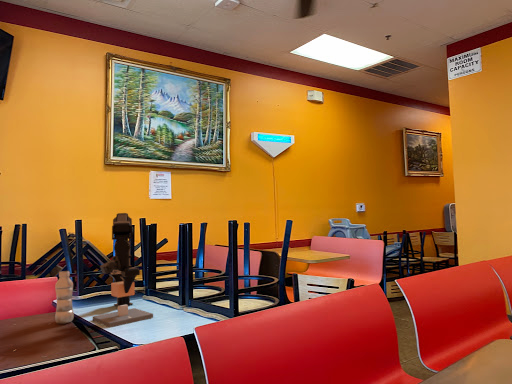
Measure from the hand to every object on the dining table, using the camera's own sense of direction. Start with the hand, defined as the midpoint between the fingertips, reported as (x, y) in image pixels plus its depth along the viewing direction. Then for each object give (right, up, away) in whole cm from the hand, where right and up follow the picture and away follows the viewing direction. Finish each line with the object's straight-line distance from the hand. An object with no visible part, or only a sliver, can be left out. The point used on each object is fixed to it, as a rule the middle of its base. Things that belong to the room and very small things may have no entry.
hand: (122, 292), depth 156 cm
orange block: (0, -1, 0) cm, 1 cm away
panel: (0, -11, -1) cm, 11 cm away
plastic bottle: (-22, -11, -4) cm, 25 cm away
